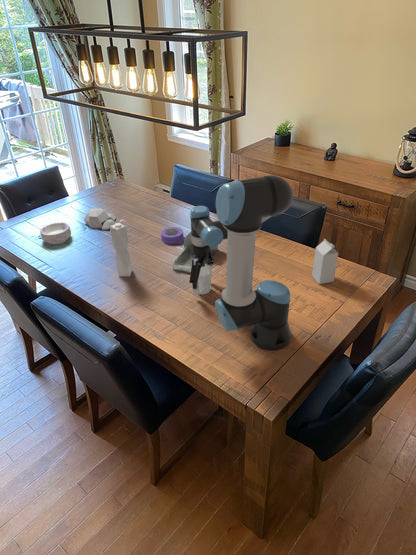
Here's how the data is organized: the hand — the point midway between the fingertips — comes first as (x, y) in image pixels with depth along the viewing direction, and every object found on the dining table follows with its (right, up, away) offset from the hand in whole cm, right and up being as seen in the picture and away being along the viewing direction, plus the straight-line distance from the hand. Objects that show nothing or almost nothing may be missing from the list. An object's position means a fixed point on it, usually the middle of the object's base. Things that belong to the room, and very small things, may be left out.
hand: (202, 285), depth 183 cm
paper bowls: (-79, +23, +43) cm, 93 cm away
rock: (-59, +33, +58) cm, 89 cm away
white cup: (0, -2, +1) cm, 3 cm away
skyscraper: (-36, +5, +14) cm, 39 cm away
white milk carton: (+54, +2, +6) cm, 55 cm away
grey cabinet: (-4, +12, +23) cm, 27 cm away
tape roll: (-17, +23, +41) cm, 50 cm away
